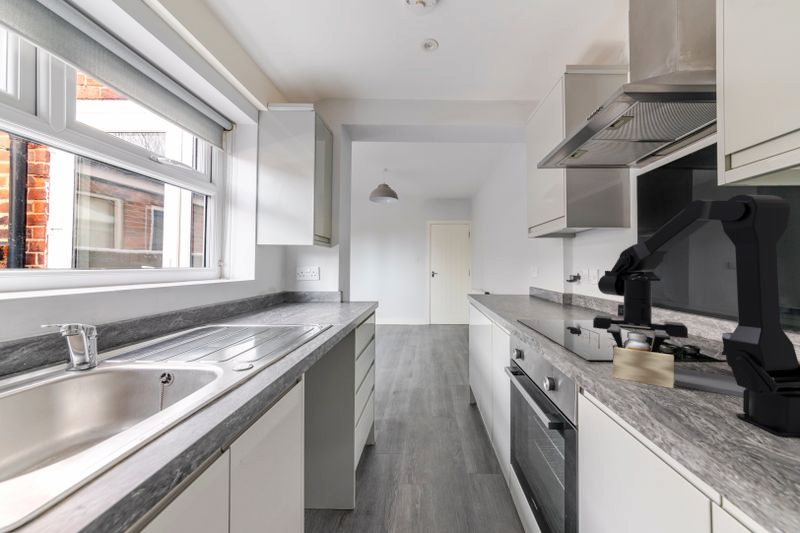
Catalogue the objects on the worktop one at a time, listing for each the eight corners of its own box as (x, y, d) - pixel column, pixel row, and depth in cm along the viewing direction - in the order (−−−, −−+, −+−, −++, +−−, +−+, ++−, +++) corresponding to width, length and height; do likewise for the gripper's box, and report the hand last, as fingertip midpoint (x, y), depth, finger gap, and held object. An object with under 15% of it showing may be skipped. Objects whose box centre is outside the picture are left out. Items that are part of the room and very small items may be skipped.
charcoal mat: (737, 381, 74) (738, 377, 74) (753, 399, 64) (753, 394, 64) (670, 370, 81) (670, 366, 81) (675, 385, 71) (675, 380, 71)
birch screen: (672, 386, 70) (673, 355, 70) (673, 388, 69) (673, 356, 69) (613, 375, 77) (613, 347, 77) (613, 377, 76) (613, 348, 76)
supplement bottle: (655, 375, 77) (656, 335, 77) (633, 374, 78) (633, 335, 77) (639, 367, 83) (639, 331, 83) (618, 367, 83) (619, 330, 83)
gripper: (682, 298, 81) (681, 358, 81) (597, 293, 92) (596, 346, 92) (688, 302, 72) (687, 370, 72) (593, 296, 83) (592, 355, 83)
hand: (636, 359), depth 80 cm, fingers closed on supplement bottle, 5 cm apart
